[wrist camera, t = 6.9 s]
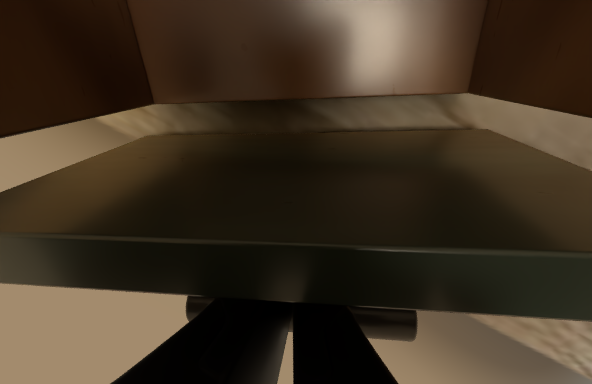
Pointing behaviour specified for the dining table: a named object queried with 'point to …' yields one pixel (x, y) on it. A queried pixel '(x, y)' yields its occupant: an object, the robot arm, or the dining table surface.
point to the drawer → (303, 157)
